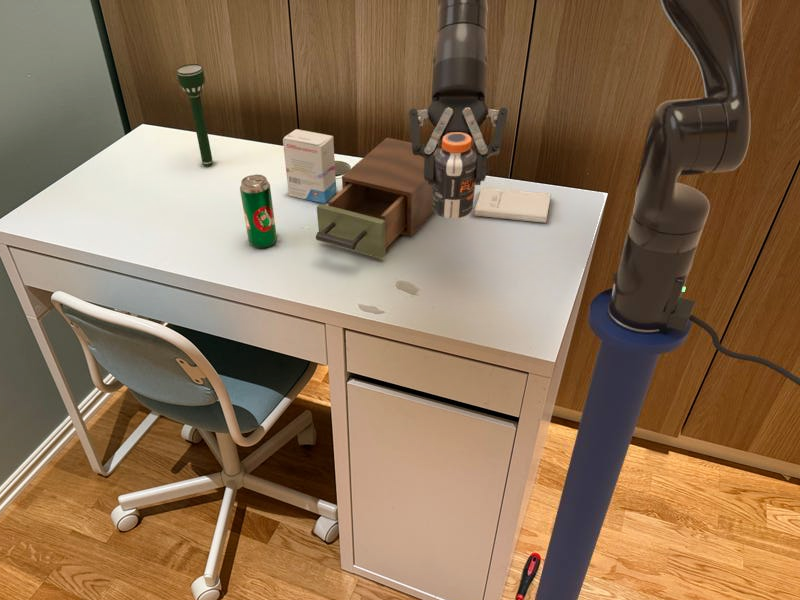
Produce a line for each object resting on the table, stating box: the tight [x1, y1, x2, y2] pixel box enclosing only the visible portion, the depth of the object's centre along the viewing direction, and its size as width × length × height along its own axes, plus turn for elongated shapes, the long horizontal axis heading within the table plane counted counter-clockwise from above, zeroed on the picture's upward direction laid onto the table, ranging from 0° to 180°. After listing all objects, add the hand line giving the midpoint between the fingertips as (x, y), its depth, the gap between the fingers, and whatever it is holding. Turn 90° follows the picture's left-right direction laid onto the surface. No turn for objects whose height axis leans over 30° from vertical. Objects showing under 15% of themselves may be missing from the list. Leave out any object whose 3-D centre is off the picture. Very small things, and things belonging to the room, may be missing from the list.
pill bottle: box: [432, 132, 477, 220], centre depth 102 cm, size 6×6×11 cm
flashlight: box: [176, 63, 214, 168], centre depth 143 cm, size 5×5×20 cm
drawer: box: [315, 183, 407, 260], centre depth 122 cm, size 20×12×7 cm, turn 148°
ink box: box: [282, 128, 337, 205], centre depth 134 cm, size 8×5×12 cm, turn 59°
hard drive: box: [474, 187, 552, 224], centre depth 128 cm, size 2×8×12 cm
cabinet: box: [341, 137, 442, 238], centre depth 129 cm, size 17×14×9 cm
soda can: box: [239, 174, 278, 249], centre depth 123 cm, size 5×5×12 cm
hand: (454, 183), depth 101 cm, fingers closed on pill bottle, 6 cm apart
